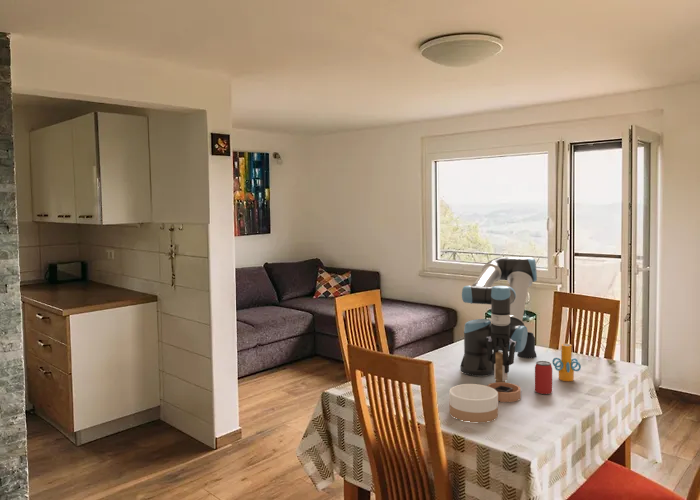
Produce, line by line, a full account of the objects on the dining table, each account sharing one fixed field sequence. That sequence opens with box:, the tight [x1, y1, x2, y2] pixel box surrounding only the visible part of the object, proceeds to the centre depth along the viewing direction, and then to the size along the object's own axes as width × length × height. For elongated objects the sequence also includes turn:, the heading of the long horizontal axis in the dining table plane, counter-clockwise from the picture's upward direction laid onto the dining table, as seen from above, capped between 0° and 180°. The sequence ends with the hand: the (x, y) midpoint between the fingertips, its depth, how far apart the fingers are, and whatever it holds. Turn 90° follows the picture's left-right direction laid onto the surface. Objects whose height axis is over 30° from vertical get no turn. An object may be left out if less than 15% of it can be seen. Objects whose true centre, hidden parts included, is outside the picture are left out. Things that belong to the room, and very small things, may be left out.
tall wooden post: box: [495, 351, 507, 383], centre depth 230 cm, size 3×3×14 cm
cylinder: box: [551, 343, 582, 382], centre depth 235 cm, size 12×10×15 cm
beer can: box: [534, 360, 553, 395], centre depth 221 cm, size 7×7×12 cm
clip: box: [495, 386, 513, 393], centre depth 217 cm, size 5×5×2 cm
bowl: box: [448, 383, 499, 423], centre depth 200 cm, size 17×17×8 cm
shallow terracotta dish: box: [486, 381, 522, 403], centre depth 217 cm, size 13×13×4 cm
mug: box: [516, 331, 538, 359], centre depth 273 cm, size 12×9×11 cm
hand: (500, 379), depth 230 cm, fingers closed on tall wooden post, 3 cm apart
